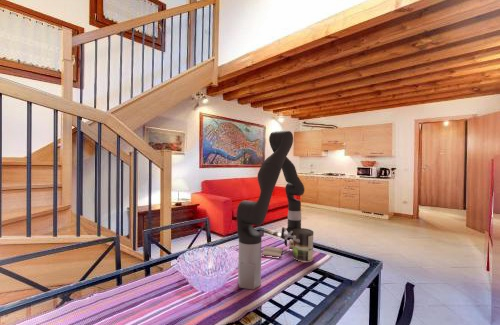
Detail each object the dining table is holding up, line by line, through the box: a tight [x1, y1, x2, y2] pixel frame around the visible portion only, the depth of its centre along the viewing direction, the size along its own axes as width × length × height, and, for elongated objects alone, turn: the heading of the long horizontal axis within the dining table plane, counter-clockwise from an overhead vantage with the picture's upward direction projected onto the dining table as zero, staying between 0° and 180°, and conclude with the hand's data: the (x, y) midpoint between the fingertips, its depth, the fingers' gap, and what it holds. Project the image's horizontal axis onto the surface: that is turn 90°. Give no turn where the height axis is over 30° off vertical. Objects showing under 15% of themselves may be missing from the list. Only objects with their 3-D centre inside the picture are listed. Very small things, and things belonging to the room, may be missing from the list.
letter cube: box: [288, 238, 293, 250], centre depth 132 cm, size 5×5×5 cm
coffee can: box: [292, 227, 314, 263], centre depth 120 cm, size 10×10×14 cm
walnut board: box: [261, 246, 284, 259], centre depth 126 cm, size 12×10×1 cm
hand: (294, 246), depth 132 cm, fingers open, 8 cm apart
